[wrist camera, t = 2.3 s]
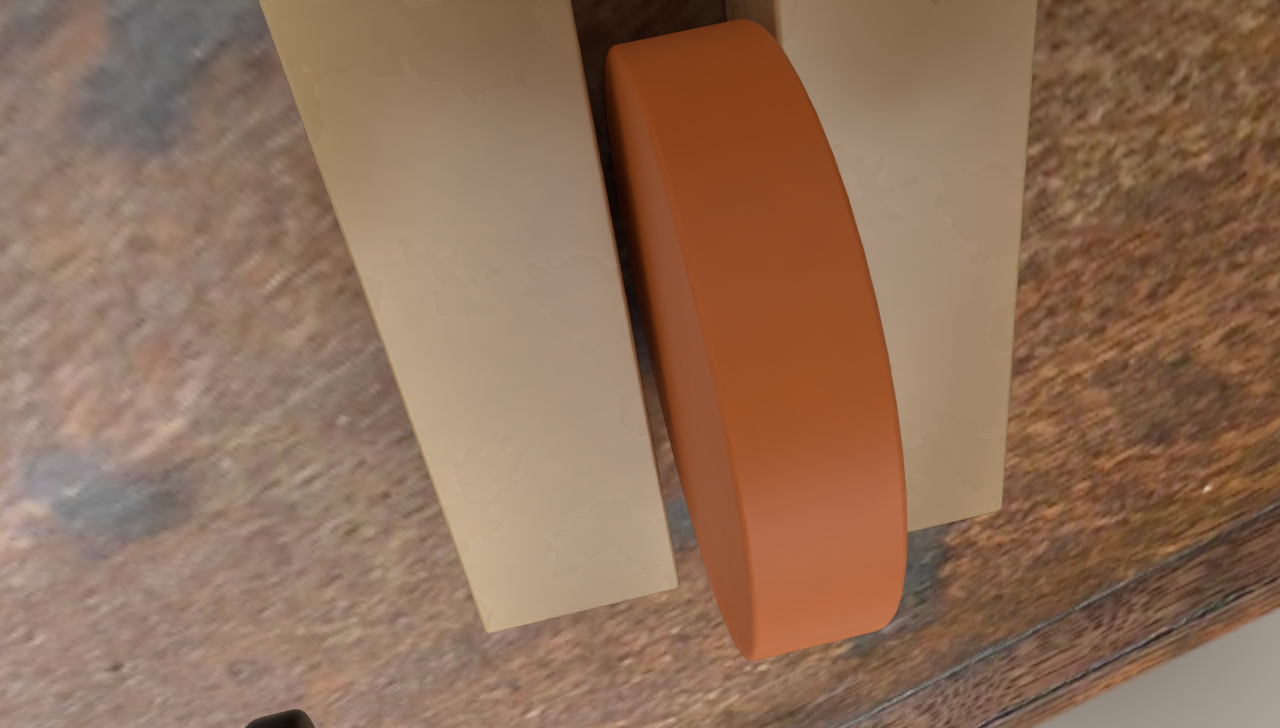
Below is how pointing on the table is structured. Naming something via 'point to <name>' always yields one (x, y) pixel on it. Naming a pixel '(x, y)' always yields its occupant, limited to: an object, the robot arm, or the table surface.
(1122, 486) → the table surface
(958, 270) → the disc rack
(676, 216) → the disc
